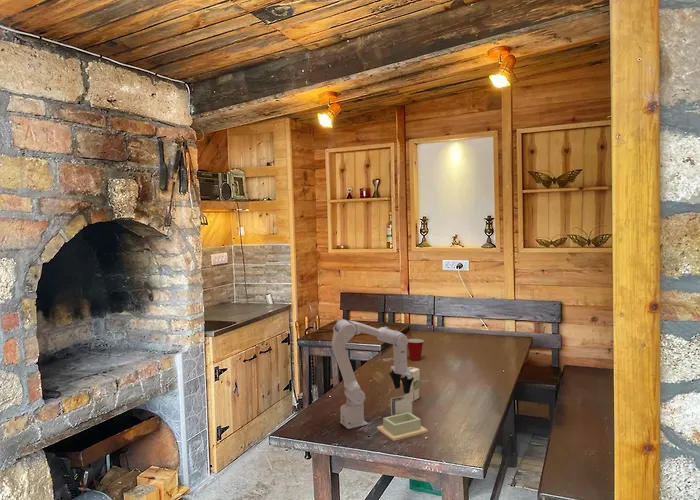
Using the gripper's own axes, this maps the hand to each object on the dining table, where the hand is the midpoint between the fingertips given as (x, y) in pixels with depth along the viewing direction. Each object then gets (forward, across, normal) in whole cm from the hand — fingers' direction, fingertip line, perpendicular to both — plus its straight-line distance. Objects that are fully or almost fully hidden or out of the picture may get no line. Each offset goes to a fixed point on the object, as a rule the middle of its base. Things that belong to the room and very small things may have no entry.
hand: (402, 390), depth 226 cm
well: (+11, -13, +9) cm, 19 cm away
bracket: (+11, 0, +1) cm, 11 cm away
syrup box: (+12, +15, -14) cm, 24 cm away
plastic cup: (+13, +69, -52) cm, 87 cm away
